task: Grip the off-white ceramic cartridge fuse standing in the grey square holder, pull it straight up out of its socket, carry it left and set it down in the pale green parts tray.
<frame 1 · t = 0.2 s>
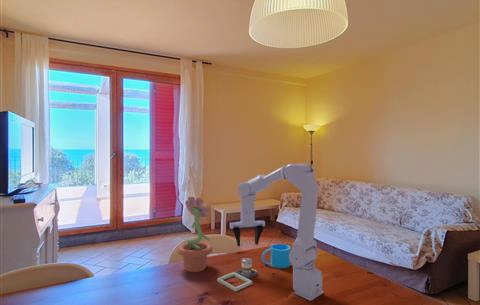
hand: (247, 244, 114), 10 cm above the table, fingers open, 7 cm apart
fuse: (246, 274, 107), point 1 cm above the table, touching grey square holder
parts tray: (234, 285, 100), on the table
decorative flower: (196, 270, 113), on the table
grey square holder: (246, 276, 107), on the table
mug: (275, 267, 117), on the table
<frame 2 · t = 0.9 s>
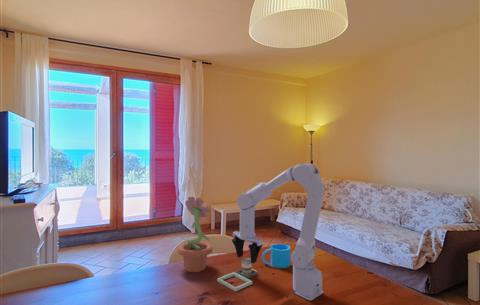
hand: (246, 259, 107), 7 cm above the table, fingers open, 7 cm apart
nothing on the table moved.
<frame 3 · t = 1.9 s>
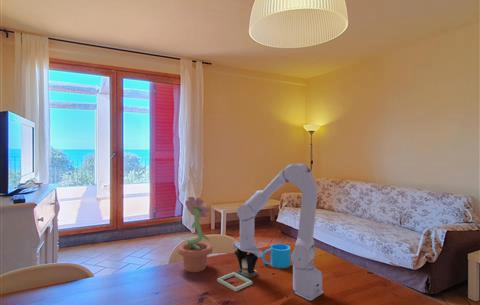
hand: (246, 270, 107), 2 cm above the table, fingers closed on fuse, 4 cm apart
fuse: (246, 274, 107), point 1 cm above the table, touching grey square holder, gripper
everything else where it was.
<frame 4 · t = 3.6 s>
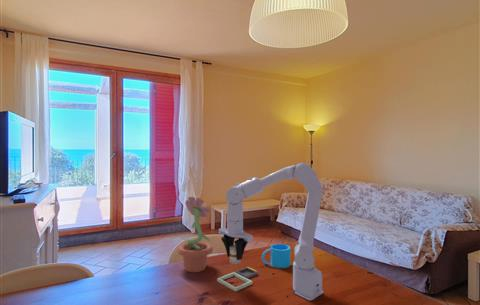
hand: (234, 257, 100), 10 cm above the table, fingers closed on fuse, 4 cm apart
fuse: (234, 261, 100), point 8 cm above the table, touching gripper
everything else where it was.
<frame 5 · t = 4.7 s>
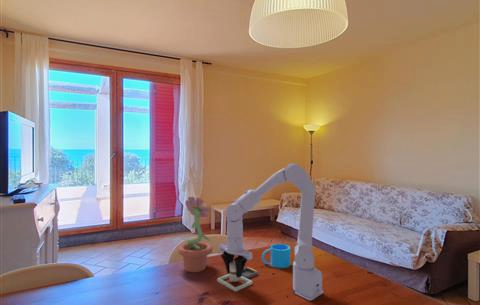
hand: (234, 274, 100), 4 cm above the table, fingers closed on fuse, 4 cm apart
fuse: (234, 278, 100), point 2 cm above the table, touching gripper
everything else where it was.
when the fingers open (3 cm above the table, at t = 5.3 s): fuse drops 1 cm, resting on parts tray.
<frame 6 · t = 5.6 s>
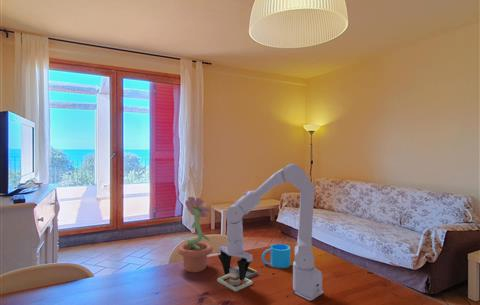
hand: (234, 276, 100), 3 cm above the table, fingers open, 7 cm apart
fuse: (234, 283, 100), point 1 cm above the table, touching parts tray
everything else where it was.
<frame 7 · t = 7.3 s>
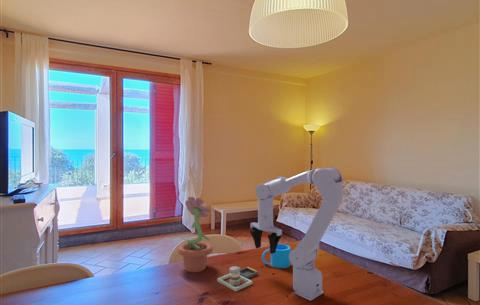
hand: (265, 250, 107), 10 cm above the table, fingers open, 7 cm apart
nothing on the table moved.
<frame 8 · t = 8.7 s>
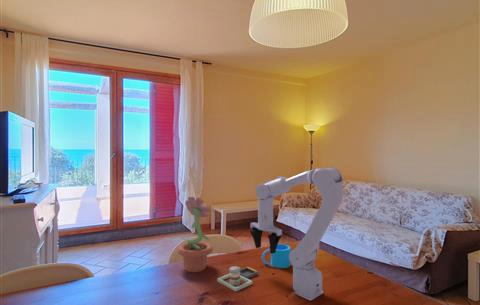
hand: (265, 250, 107), 10 cm above the table, fingers open, 7 cm apart
nothing on the table moved.
at the end: fuse inside the target area on the parts tray (0.1 cm from its centre), point 0.5 cm above the parts tray's base; fuse touching parts tray; the gripper is holding nothing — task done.
